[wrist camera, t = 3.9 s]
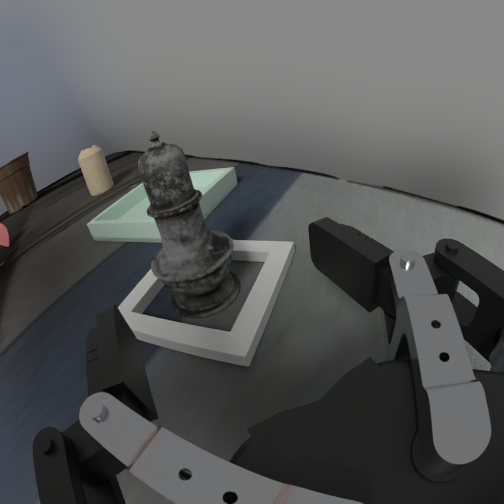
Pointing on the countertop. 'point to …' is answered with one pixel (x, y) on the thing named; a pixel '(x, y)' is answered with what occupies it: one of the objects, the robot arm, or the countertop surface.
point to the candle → (95, 170)
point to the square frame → (206, 339)
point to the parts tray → (136, 203)
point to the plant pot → (17, 184)
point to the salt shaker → (185, 236)
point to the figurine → (4, 239)
